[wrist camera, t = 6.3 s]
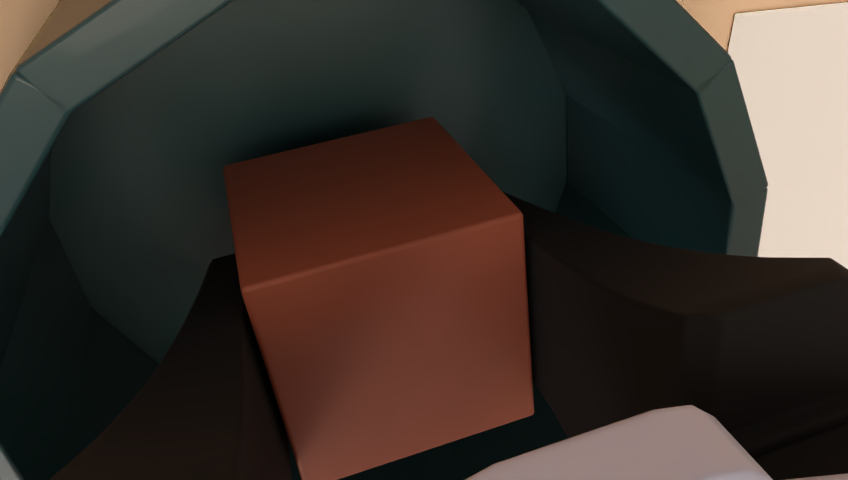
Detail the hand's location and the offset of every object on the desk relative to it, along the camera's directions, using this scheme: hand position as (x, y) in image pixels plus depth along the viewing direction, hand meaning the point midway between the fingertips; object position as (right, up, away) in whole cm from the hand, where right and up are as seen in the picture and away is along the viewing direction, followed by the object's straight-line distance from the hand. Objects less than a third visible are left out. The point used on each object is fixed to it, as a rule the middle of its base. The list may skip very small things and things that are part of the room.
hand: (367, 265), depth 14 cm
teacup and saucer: (+18, -1, +11) cm, 22 cm away
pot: (-1, +2, +3) cm, 3 cm away
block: (0, +1, +1) cm, 1 cm away
